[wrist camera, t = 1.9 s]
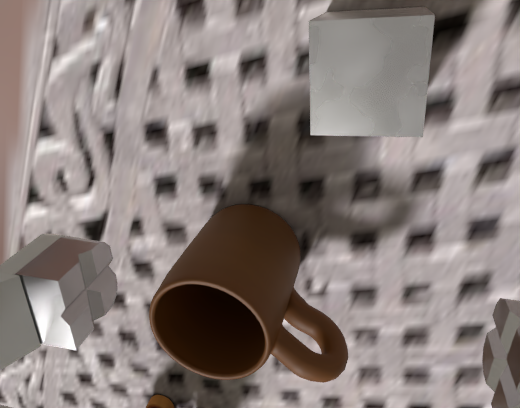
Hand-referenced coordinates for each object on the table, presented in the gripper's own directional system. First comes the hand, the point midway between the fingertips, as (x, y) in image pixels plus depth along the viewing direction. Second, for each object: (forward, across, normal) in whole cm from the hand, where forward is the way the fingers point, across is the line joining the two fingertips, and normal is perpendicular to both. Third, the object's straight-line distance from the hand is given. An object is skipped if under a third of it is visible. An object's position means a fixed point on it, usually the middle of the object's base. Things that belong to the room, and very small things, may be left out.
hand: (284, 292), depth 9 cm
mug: (+20, +4, +13) cm, 24 cm away
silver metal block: (+20, -1, -2) cm, 20 cm away
